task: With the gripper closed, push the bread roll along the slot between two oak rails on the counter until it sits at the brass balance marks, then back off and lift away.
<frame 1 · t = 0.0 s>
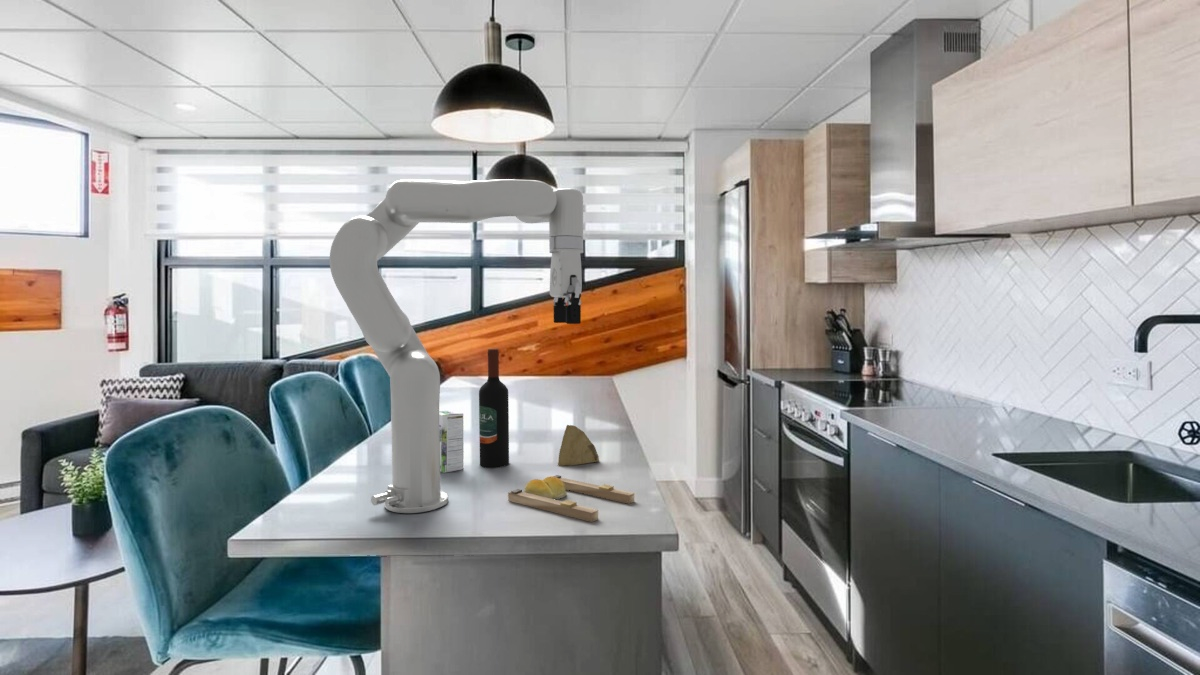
hand: (566, 323, 134), 37 cm above the countertop, tool pointing down, fingers open, 9 cm apart
slot rails: (571, 501, 127), on the countertop
wine bottle: (494, 464, 157), on the countertop
bread roll: (546, 497, 131), on the countertop
syrup box: (449, 469, 152), on the countertop
rock: (579, 463, 158), on the countertop
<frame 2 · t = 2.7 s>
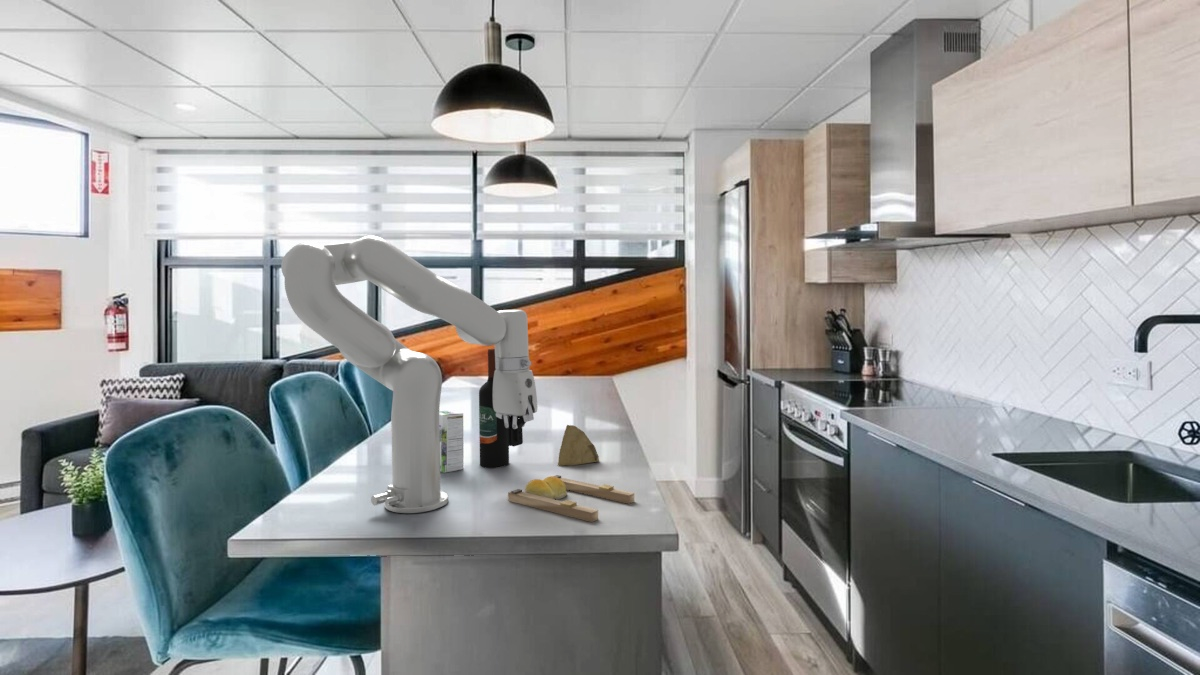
hand: (515, 444, 137), 10 cm above the countertop, tool pointing down, fingers closed
nothing on the countertop moved.
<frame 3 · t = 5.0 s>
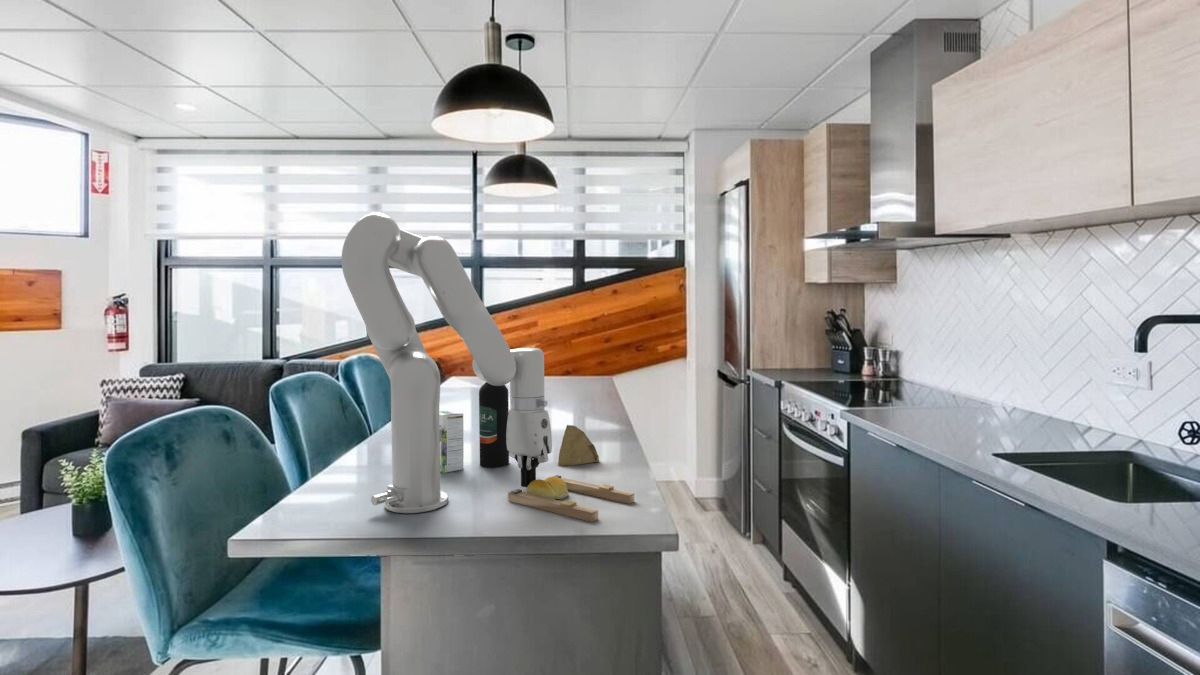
hand: (528, 485, 134), 1 cm above the countertop, tool pointing down, fingers closed
bread roll: (548, 497, 131), on the countertop, touching gripper
everything else where it was.
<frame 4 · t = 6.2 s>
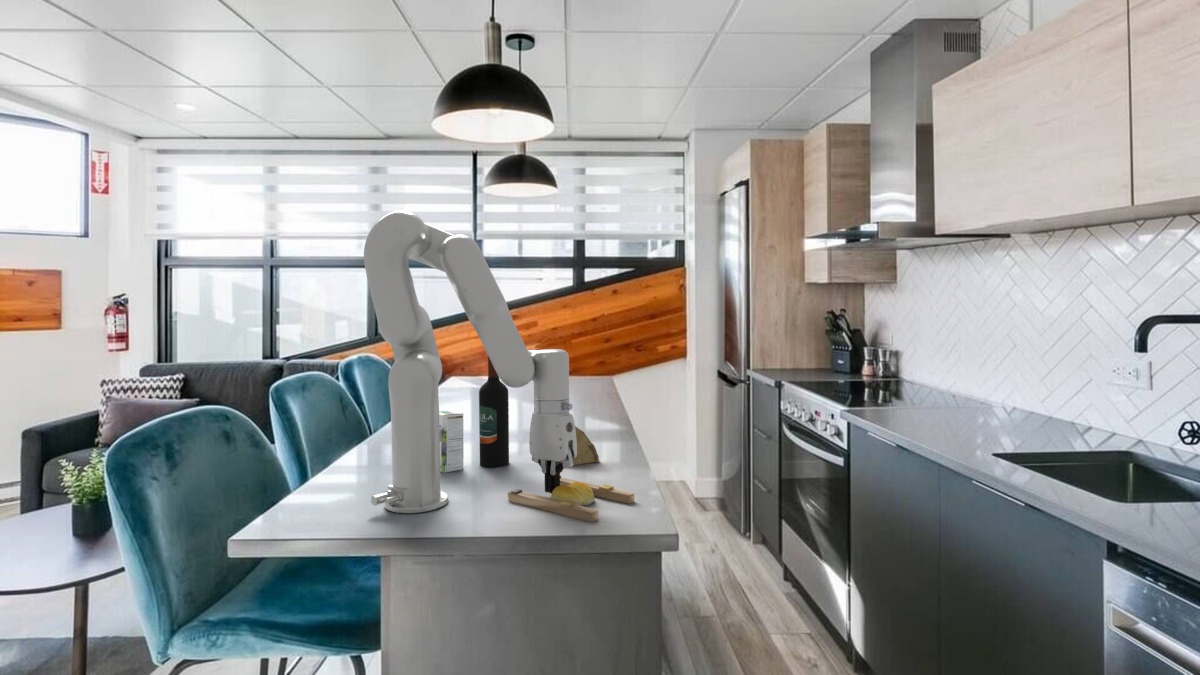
hand: (552, 491, 130), 1 cm above the countertop, tool pointing down, fingers closed
bread roll: (573, 503, 127), on the countertop
everything else where it was.
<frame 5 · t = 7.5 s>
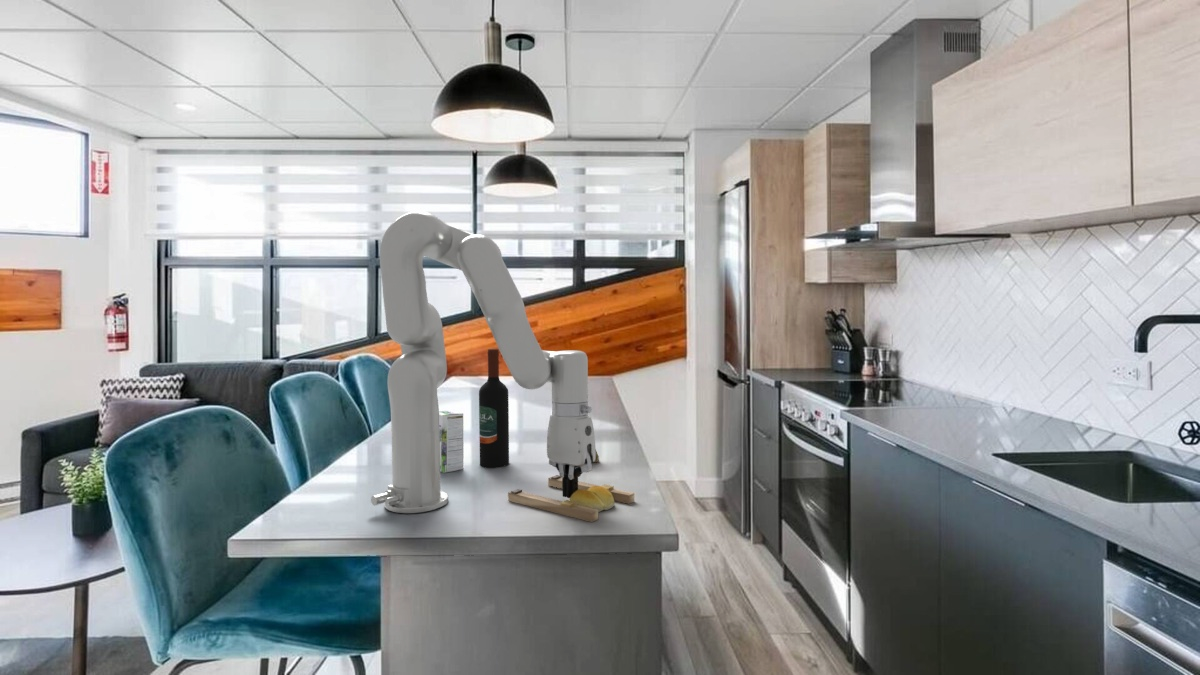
hand: (570, 495, 127), 1 cm above the countertop, tool pointing down, fingers closed
bread roll: (592, 507, 124), on the countertop
everything else where it was.
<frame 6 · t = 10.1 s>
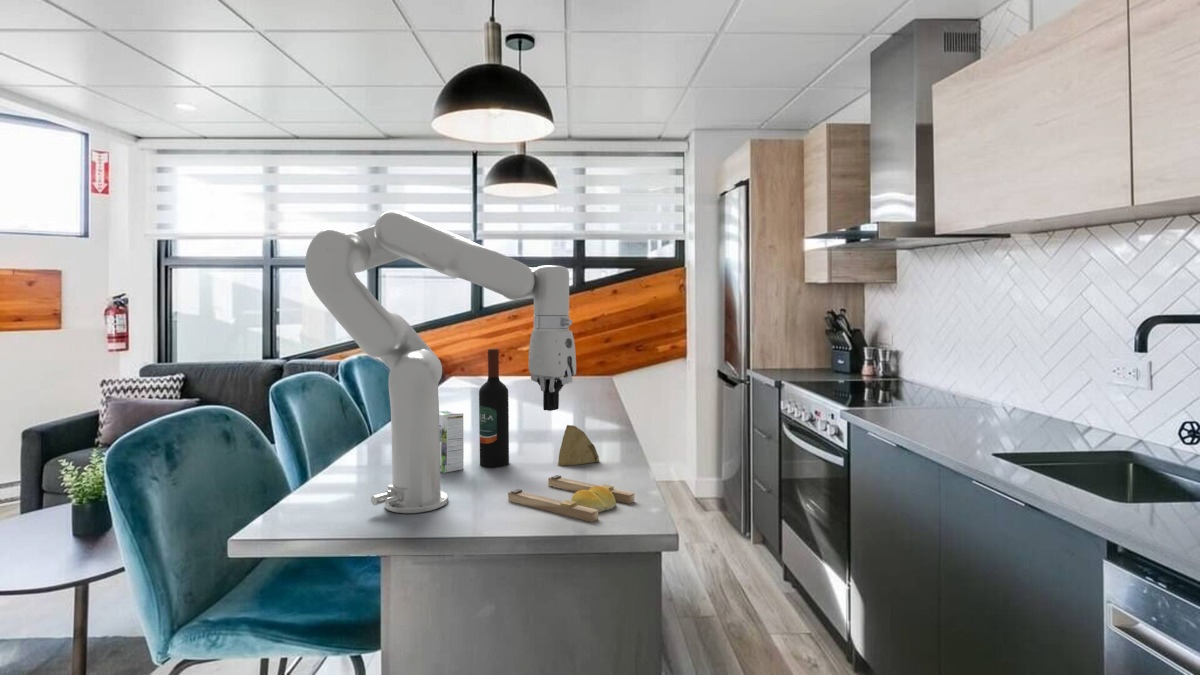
hand: (551, 409, 129), 19 cm above the countertop, tool pointing down, fingers closed
nothing on the countertop moved.
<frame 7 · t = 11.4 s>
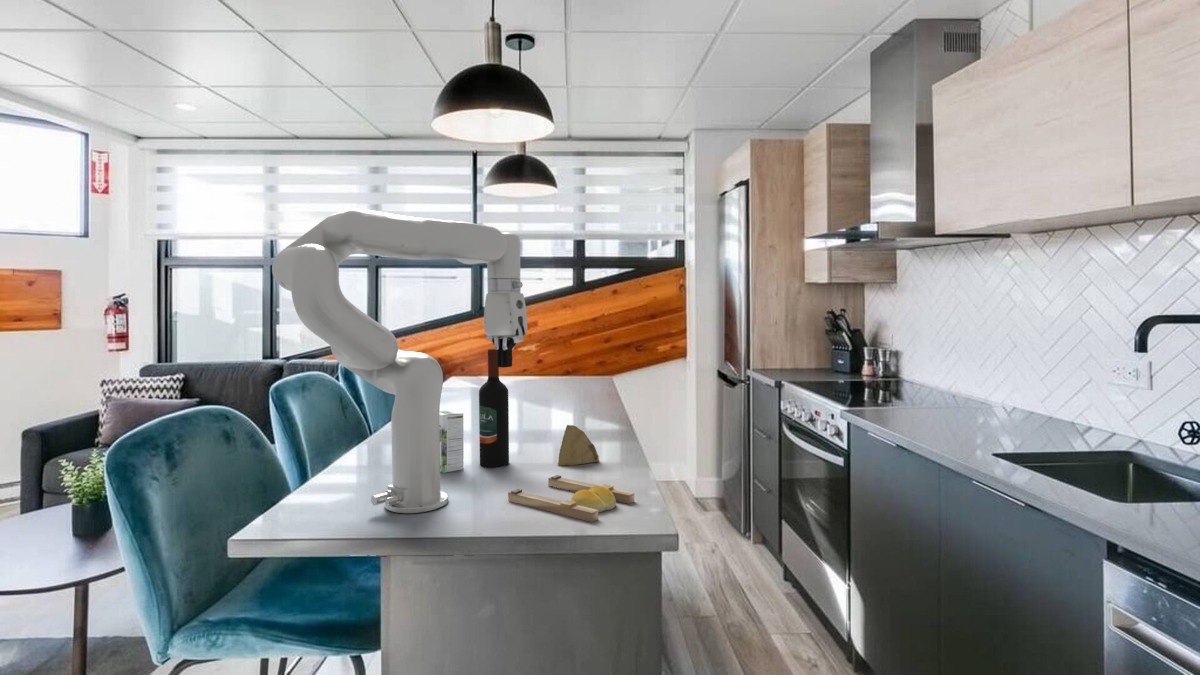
hand: (504, 366, 139), 27 cm above the countertop, tool pointing down, fingers closed
nothing on the countertop moved.
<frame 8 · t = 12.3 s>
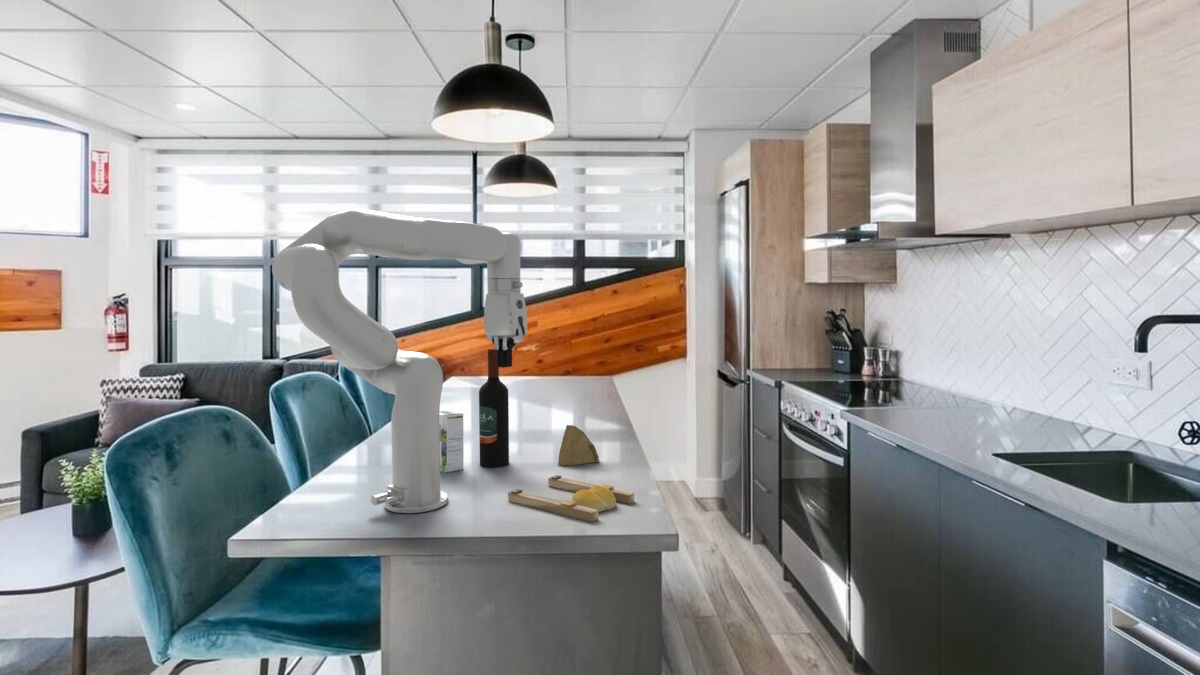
hand: (504, 366, 139), 27 cm above the countertop, tool pointing down, fingers closed
nothing on the countertop moved.
at the end: bread roll inside the target area (1.1 cm from its centre), on the countertop; bread roll moved 12.8 cm from its start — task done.
